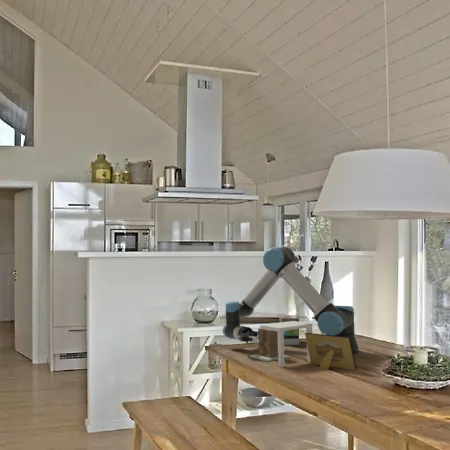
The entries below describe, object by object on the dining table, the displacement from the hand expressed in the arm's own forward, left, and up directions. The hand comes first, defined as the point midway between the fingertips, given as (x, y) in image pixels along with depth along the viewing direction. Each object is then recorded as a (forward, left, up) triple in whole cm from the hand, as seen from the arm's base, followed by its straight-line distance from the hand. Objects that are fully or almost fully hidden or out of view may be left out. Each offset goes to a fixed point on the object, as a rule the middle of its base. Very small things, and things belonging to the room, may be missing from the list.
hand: (268, 338), depth 300 cm
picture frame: (-34, +13, -9) cm, 38 cm away
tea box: (+6, -42, -9) cm, 43 cm away
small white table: (-13, +7, -9) cm, 17 cm away
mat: (0, 0, -9) cm, 9 cm away
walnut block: (0, 0, -8) cm, 8 cm away
